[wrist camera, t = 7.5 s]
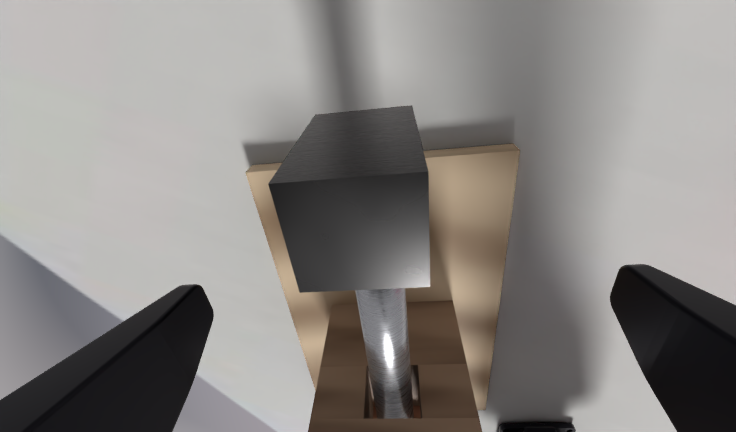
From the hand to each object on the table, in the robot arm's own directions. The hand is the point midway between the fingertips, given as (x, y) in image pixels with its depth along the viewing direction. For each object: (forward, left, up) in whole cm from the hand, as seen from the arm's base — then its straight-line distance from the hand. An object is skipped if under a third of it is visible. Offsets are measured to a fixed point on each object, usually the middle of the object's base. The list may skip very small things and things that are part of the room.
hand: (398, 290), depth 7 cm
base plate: (-13, +1, -12) cm, 17 cm away
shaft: (-6, +1, -6) cm, 8 cm away
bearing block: (-13, +1, -12) cm, 18 cm away
